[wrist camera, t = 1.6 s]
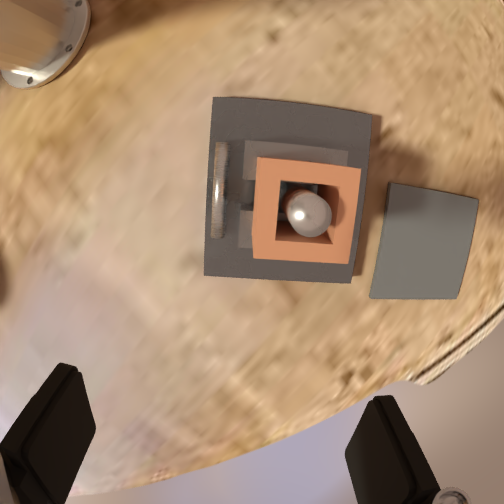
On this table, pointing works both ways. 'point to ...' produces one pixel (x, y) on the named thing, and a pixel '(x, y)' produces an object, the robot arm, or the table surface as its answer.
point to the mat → (423, 244)
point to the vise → (291, 193)
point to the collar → (281, 232)
